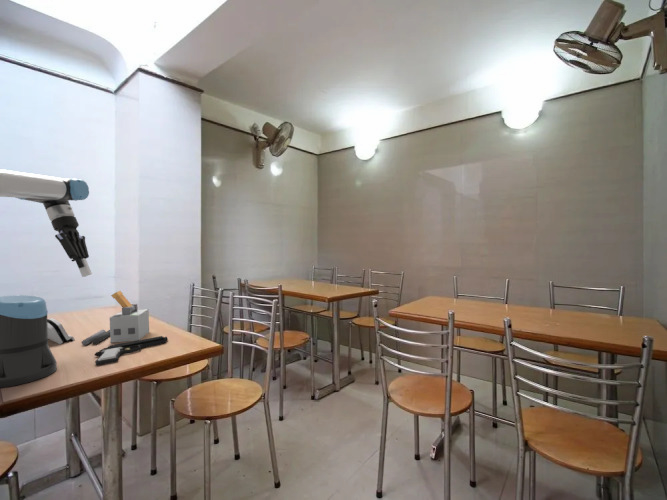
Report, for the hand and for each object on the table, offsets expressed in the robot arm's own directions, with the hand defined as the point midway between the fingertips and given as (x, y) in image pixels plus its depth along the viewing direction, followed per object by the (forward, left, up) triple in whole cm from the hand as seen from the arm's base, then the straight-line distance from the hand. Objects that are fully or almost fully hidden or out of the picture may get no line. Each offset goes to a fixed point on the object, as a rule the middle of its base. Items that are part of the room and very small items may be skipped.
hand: (87, 275), depth 119 cm
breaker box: (-2, -13, -27) cm, 30 cm away
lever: (-2, -14, -16) cm, 21 cm away
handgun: (-23, -9, -28) cm, 37 cm away
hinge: (+19, +8, -27) cm, 34 cm away
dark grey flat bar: (+5, -4, -27) cm, 27 cm away
